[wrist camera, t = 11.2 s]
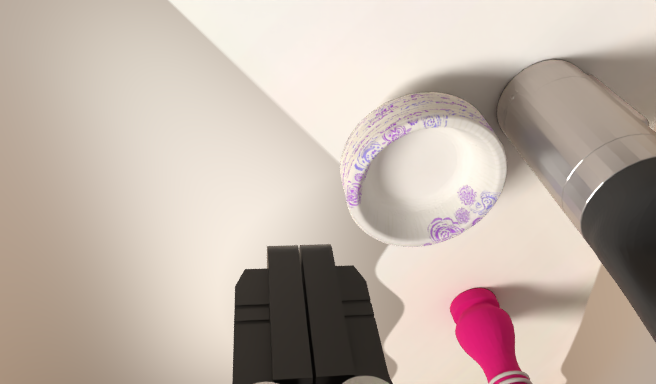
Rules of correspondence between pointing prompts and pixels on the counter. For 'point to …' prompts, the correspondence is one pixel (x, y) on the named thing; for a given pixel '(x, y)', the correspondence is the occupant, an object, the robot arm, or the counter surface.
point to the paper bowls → (422, 169)
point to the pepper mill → (487, 336)
